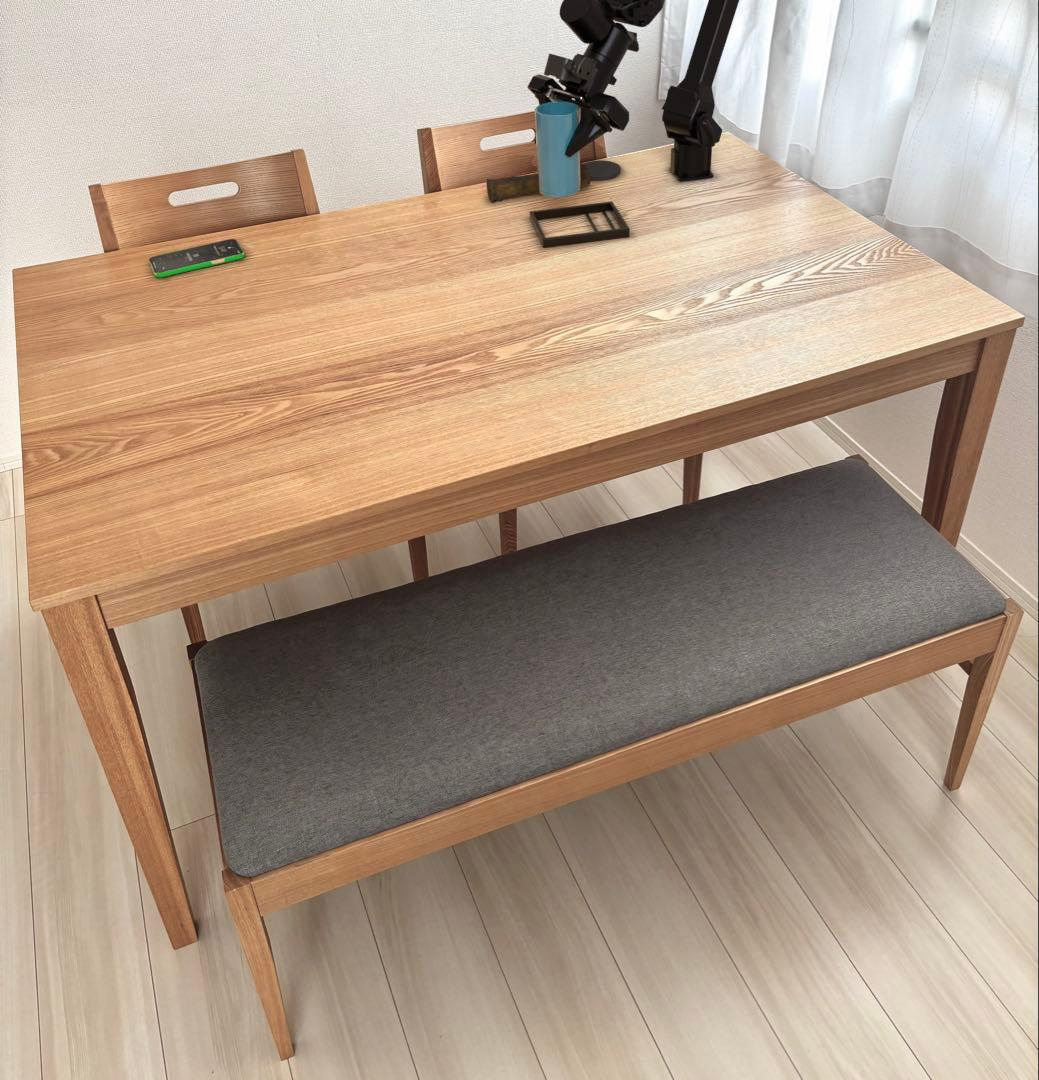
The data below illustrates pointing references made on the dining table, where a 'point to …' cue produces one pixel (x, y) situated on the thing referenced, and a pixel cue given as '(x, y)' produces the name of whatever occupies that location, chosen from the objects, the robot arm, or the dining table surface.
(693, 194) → the dining table surface
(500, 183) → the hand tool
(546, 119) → the cup
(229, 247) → the smartphone
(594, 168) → the trivet
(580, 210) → the black rectangular frame
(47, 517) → the dining table surface
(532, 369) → the dining table surface
